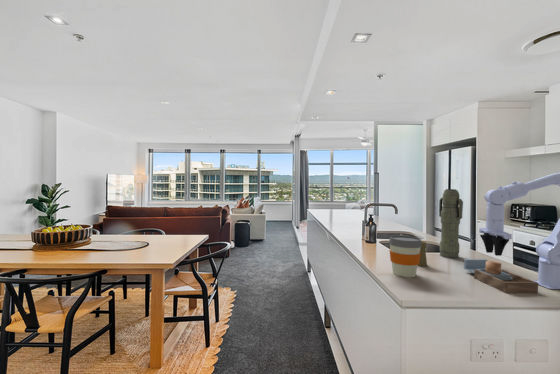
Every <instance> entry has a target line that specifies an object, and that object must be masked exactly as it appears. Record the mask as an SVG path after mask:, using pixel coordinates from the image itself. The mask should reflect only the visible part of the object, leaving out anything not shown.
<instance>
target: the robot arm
mask: <svg viewBox="0 0 560 374" xmlns="http://www.w3.org/2000/svg"><path fill="white" fill-rule="evenodd" d="M510 183H511V184H508V185H505V186H497V189H489V190H488V191H487V192H486V193H485V195H484V200H485V202H486V212H485V213H486V216H485V217H486V218H485V220H486V221H485V227H478V233H479V234H480V233H481V234H480V235H479V236H480V238H481V239H482V242H483V244H484V248H485V251H486V254H487V253H488V254H489V253H493V252H494V253H493V254H494V255H495V256H498V257H499V256H502V255H503V252H504V250H505V247H506V245H507V244H508V243H509V242H510V240H512V239H513V238H512V234H511V233H508V232H506V231H504V229H505V227H504V225H505V204H506V203H507V202H509V201H512V200H516V199H519V198H522V197H526V196H527V195H528V193H529V192H530V191H535V190H538V189H541V188H544V187H549V186H552V185H554V186H559V187H560V172H554V173H551V174H548V175H544V176H542V177H539V178H536V179H532V180H530V181H528V182H522V181H512V182H510ZM535 252H536V255H537V256H539V258H538V271H537V272H538V275H537V280H534V281H535V282H537V283H538V286H542V287H544V288H547V289H549V290H560V217H559V219H558V221H557V222H556V223H555V225H554V228H553V230H552V231H551V233H550V235H548V236H546V237H545V238H544V239H543V241H542V242H541V243H539V244H538V245H537V246H536V248H535Z"/></svg>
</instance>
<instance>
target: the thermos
mask: <svg viewBox="0 0 560 374" xmlns="http://www.w3.org/2000/svg"><path fill="white" fill-rule="evenodd" d="M438 207H439V208H438V214H439V215H438V216H439V218H440V223H441V226H440V227H441V229H440V230H441V235H440V236H441V237H440V242H439V256H440V257H443V258H447V259H458V258H459V256H460V255H459V254H460V243H459V237H460V235H459V233H460V225H461V219H463V210H464V209H463V208H464V201H463V200H462V198H460V192H459V190H458V189H454V188H453V189H452V188H446V189H444V190H443V193H442V197H440V199H439V205H438Z"/></svg>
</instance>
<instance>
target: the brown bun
mask: <svg viewBox="0 0 560 374" xmlns="http://www.w3.org/2000/svg"><path fill="white" fill-rule="evenodd" d="M501 269H502V263H501V262H500V261H497V260H496V261H495V260H488V261H486V270H485V272H486V273H488V274H491V275H501Z"/></svg>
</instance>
